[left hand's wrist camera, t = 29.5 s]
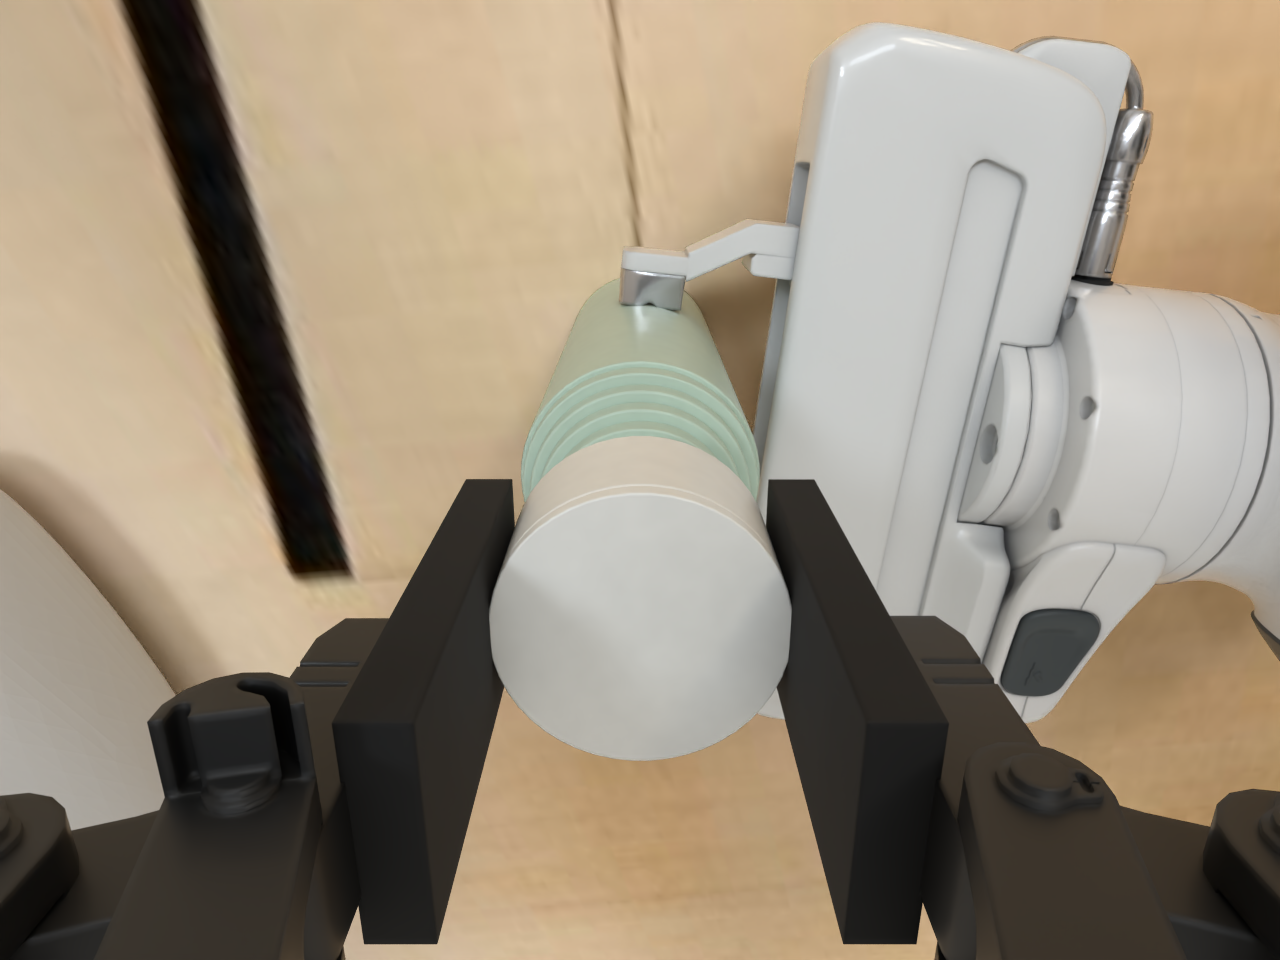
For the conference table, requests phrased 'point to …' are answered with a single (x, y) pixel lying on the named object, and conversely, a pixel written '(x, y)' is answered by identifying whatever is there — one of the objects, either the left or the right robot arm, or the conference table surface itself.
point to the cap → (640, 602)
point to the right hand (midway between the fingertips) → (610, 384)
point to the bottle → (639, 388)
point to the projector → (71, 685)
